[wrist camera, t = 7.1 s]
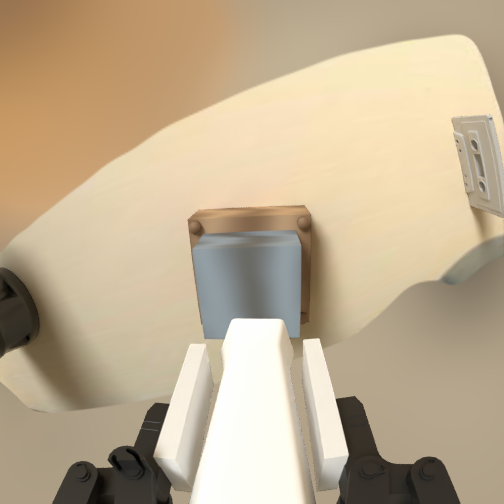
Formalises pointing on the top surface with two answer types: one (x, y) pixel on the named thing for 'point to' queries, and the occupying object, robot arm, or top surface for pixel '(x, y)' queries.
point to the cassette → (480, 162)
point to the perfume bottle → (254, 423)
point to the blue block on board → (251, 266)
